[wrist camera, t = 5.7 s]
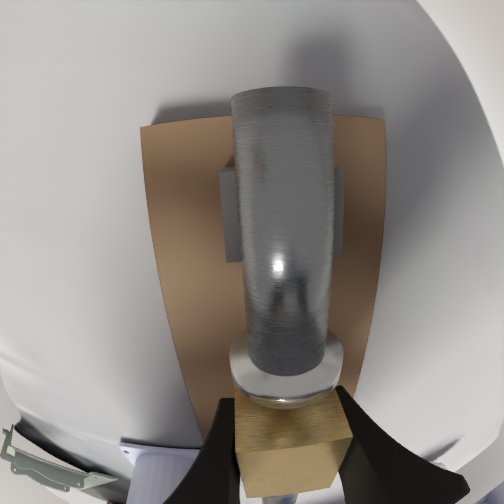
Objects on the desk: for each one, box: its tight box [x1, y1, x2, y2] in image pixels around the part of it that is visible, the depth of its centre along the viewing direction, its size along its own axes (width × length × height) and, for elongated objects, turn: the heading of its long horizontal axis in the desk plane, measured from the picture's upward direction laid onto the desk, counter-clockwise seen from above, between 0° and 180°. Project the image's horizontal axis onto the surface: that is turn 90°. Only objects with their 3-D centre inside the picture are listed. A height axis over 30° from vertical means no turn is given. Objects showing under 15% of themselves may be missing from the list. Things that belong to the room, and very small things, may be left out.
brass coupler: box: [235, 386, 353, 498], centre depth 10 cm, size 5×4×6 cm
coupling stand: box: [140, 87, 386, 504], centre depth 11 cm, size 22×9×6 cm, turn 3°
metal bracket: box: [0, 424, 118, 492], centre depth 19 cm, size 14×6×15 cm
